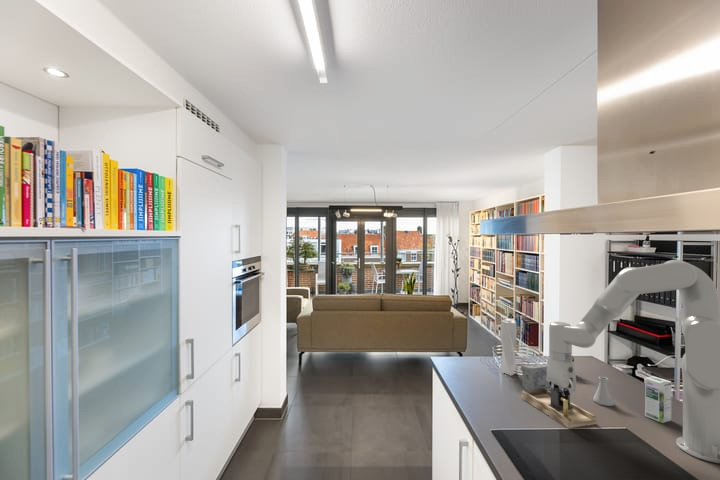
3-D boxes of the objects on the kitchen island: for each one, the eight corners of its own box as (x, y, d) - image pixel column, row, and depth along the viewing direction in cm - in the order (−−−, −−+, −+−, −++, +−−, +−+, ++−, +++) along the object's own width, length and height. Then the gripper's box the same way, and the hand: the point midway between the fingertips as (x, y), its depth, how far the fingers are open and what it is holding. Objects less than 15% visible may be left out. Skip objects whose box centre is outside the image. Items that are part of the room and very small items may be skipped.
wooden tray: (596, 424, 124) (596, 398, 125) (568, 428, 122) (568, 402, 122) (545, 395, 148) (545, 374, 148) (521, 398, 145) (521, 376, 145)
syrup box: (644, 416, 130) (644, 377, 130) (654, 413, 132) (654, 375, 132) (662, 423, 125) (662, 383, 125) (672, 420, 127) (672, 380, 127)
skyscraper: (496, 372, 174) (496, 316, 174) (503, 368, 179) (503, 314, 179) (512, 376, 168) (512, 318, 168) (519, 372, 173) (519, 316, 173)
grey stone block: (537, 383, 160) (537, 361, 160) (552, 391, 152) (552, 367, 152) (519, 385, 157) (519, 362, 158) (533, 393, 149) (533, 369, 150)
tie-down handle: (572, 409, 132) (572, 390, 132) (554, 411, 130) (554, 392, 130) (565, 405, 135) (565, 387, 135) (548, 407, 133) (548, 389, 133)
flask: (618, 407, 137) (618, 382, 137) (597, 405, 138) (597, 380, 139) (609, 399, 144) (609, 375, 144) (589, 397, 146) (589, 373, 146)
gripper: (587, 361, 126) (586, 412, 126) (552, 348, 142) (552, 393, 142) (569, 363, 124) (569, 415, 124) (536, 349, 140) (536, 395, 140)
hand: (560, 402), depth 133 cm, fingers closed on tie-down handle, 3 cm apart
